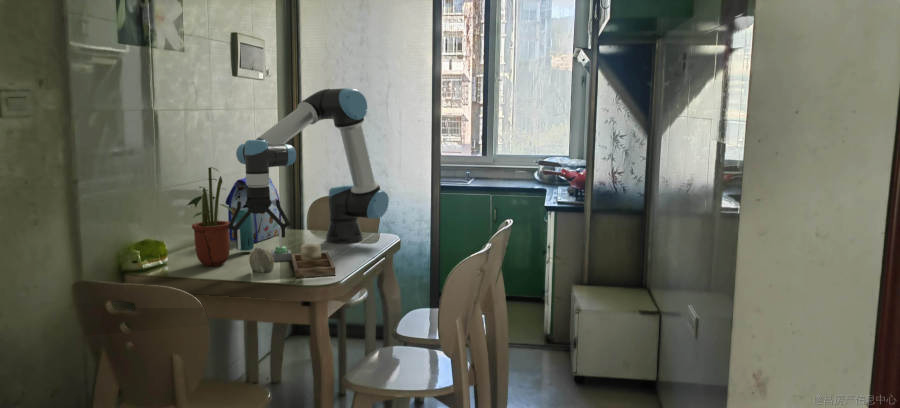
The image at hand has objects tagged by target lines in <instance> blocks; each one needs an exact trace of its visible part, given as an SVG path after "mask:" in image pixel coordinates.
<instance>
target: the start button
mask: <svg viewBox="0 0 900 408" xmlns="http://www.w3.org/2000/svg"><path fill="white" fill-rule="evenodd" d="M274 249H275V251H276V254H278V253H287V250H288V249H287V246H285V245H282V248H280V245H279V246H275V248H274Z"/></svg>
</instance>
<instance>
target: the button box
mask: <svg viewBox="0 0 900 408" xmlns="http://www.w3.org/2000/svg"><path fill="white" fill-rule="evenodd" d="M270 253H271V254H272V256H273V258H274V262H284V261H285V262H286V261H292V255H293V254H292V250H291V249H287V253H278V254H276V251H275V250H270Z"/></svg>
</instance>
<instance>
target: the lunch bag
mask: <svg viewBox="0 0 900 408" xmlns="http://www.w3.org/2000/svg"><path fill="white" fill-rule="evenodd" d="M268 186H269V187H270V200H271V201H273V200H276V199H279V202H280V201H281V200H280V197H279V194H278V191H277V188H276V187H275V186H274V183H273V181H272V179H271V177H269V185H268ZM247 187H248V186H247V185H246V177H242V178H241V179H237V180H236V182H235V183H234V184H233V185H232V188H231V189H230V191H229V193H228V194H227V197H226V199H225V206H227V207H229V208H230V209H231V210H232V211H233V212H231V211H230V210H229V209H228V208H227V210H228V212H227V214H228V217H227V219H228V222H230V221H231V219H232V217H233V215H234V213H235V210H236V208H237V202H238V201H239V200H240V201H244V202H246V200H247V191H246V188H247ZM280 203H281V202H280ZM269 209H270V210H271V211H272V212H273V213H274V214H275V215H276V216H277V217H278V219H279V220H280V221H281V222H282V216H281V214H280V212H279V211H278V209H277V206H274V205H273V204H271V206H270V207H269ZM240 210H248V207H247V208H241V209H240ZM251 215H252V223H253V224H252V230H253V240H254V241H253V243H257V242H261V241H264V240H266V239H270V238H273V237H275V236H279V228H281V227H280V226H279V225H278V223H277V222H276V221H275V220H274V219H273V218H272V217H271V216H270V215H269V214H268V213H267V212H265V213H264V214H261V213H258V214H254V213H252V214H251ZM235 225H236V222H234V224H233V226H235ZM229 239H230V241H231V242H237V240H235V239H234V231H233V230H232V229H229Z"/></svg>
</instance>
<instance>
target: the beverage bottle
mask: <svg viewBox="0 0 900 408" xmlns="http://www.w3.org/2000/svg"><path fill="white" fill-rule="evenodd" d="M242 208H247V206H246V205H244V206H243V207H242ZM246 212H247V210H240V211H239V213H238V215H237V218H236V220H235V222H236V224H237V223H238V222H239V220H240V219H241V218H242V217H243V215H244V214H245V213H246ZM251 214H252V213H251ZM251 214H250V215H249V216H248V217H247V218H246V220H245V221H244V222H243V223H242V225H241V226H240V227H239V228H238V230H240V244H241V250H238V240H237V241H236V242H235V243H236V244H235V245H236V249H237V251H244V252H245V251H251V250H254V246H255V245H254V243H255V242H253V241H254V240H253V230H252V224H253V223H252V215H251Z"/></svg>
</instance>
